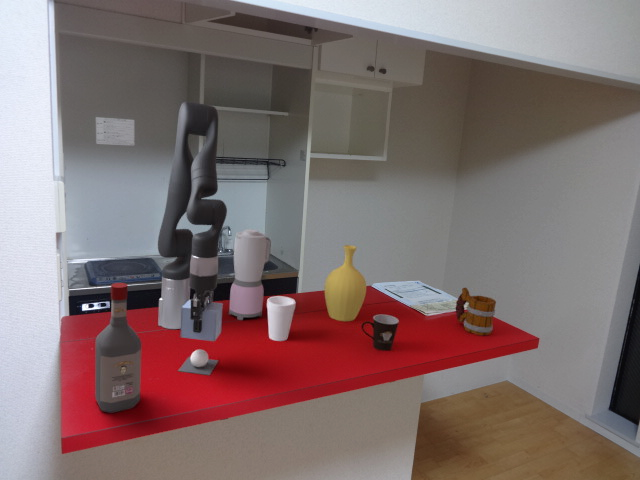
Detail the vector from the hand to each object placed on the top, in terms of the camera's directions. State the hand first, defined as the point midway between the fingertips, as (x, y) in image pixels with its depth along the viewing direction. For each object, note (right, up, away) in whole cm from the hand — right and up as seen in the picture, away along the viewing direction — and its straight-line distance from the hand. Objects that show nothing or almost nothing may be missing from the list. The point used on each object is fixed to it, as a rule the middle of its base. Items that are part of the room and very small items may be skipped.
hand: (201, 326), depth 141 cm
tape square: (-1, -12, +3) cm, 12 cm away
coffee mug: (+53, -12, +29) cm, 62 cm away
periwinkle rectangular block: (0, -2, +1) cm, 2 cm away
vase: (+42, -5, +53) cm, 68 cm away
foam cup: (+20, -9, +28) cm, 35 cm away
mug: (+93, -10, +55) cm, 109 cm away
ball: (-1, -9, +2) cm, 10 cm away
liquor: (-16, -15, -19) cm, 29 cm away
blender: (+7, -3, +46) cm, 47 cm away
